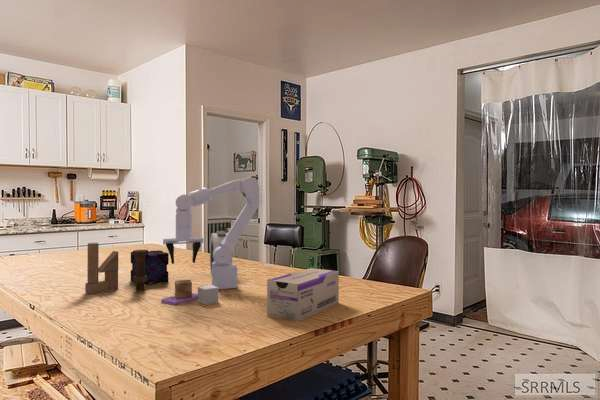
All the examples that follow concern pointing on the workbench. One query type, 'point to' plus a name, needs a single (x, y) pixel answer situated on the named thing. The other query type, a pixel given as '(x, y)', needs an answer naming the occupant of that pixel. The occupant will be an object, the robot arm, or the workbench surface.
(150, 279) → the energy cube
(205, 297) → the grey block
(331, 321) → the workbench surface
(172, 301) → the sponges
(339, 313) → the workbench surface
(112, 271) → the wooden block
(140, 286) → the bolt
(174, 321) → the workbench surface
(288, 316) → the surgical sutures box
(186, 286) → the brown boxy piece
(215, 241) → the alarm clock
